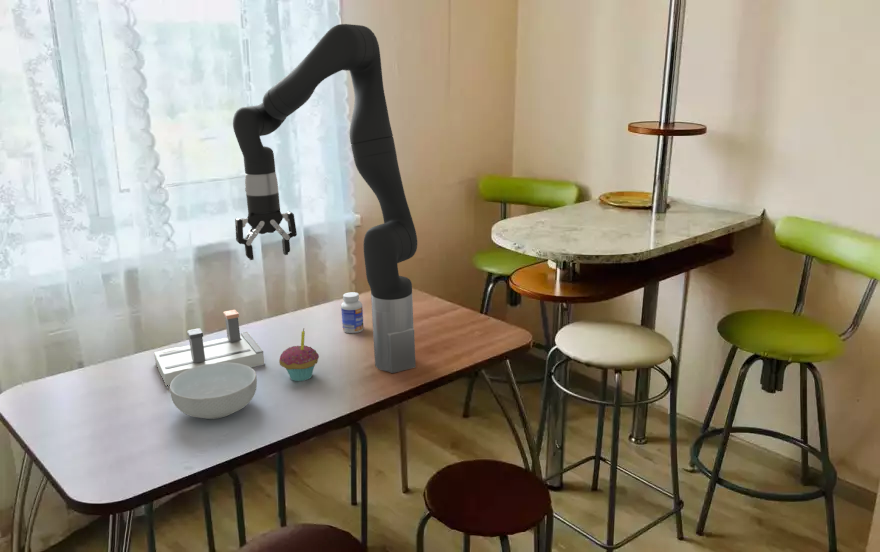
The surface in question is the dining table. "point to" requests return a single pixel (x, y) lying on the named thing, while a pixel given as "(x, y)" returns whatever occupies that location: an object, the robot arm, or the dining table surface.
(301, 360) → the cupcake
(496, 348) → the dining table surface
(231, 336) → the terracotta fader
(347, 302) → the pill bottle
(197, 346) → the black fader
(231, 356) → the console
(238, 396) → the cereal bowl
